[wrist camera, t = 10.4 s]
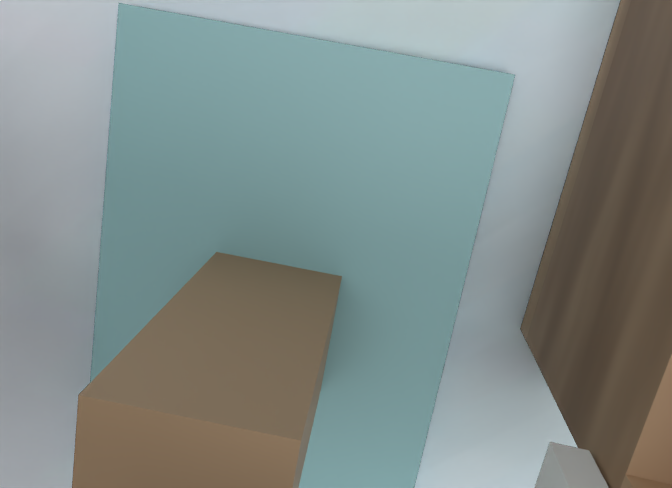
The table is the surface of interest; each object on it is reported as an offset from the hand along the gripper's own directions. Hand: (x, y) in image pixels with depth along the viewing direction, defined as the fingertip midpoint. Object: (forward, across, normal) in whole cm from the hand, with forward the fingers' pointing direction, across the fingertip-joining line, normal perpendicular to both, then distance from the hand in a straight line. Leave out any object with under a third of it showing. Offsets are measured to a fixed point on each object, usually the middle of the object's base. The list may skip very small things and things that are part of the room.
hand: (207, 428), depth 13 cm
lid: (+7, 0, 0) cm, 7 cm away
